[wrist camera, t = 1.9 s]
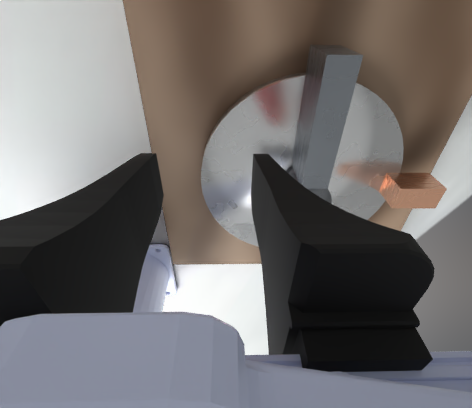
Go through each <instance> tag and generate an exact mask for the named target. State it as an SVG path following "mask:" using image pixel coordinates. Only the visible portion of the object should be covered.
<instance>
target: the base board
mask: <svg viewBox="0 0 472 408" xmlns="http://www.w3.org/2000/svg"><path fill="white" fill-rule="evenodd" d="M123 4H124V9H125V15H126V20H127V25H128V30H129V36H130V41H131V46H132V51H133V56H134V62H135V67H136V72H137V77H138V83H139V88H140V93H141V98H142V104H143V109H144V114H145V119H146V125H147V130H148V135H149V140H150V146H151V151H152V153H156V155H157V160H158V166H159V171H160V177H161V182H162V188H163V193H164V197H163V203H162V208H163V214H164V219H165V224H166V229H167V235H168V240H169V245H170V250H171V256H172V261H173V264H262V262H261V256H260V251H259V247H258V246H255V245H252V244H249V243H246V242H244V241H242V240H240V239H238V238H236V237H235V236H233V235H232V234H230V233H229V232H228V231H226V230H225V229H224V228H223V227H222V226H221V225H220V224H219V223H218V222H217V221H216V220H215V218H214V217H213V215H212V214H211V212H210V210H209V208H208V206H207V204H206V202H205V199H204V196H203V192H202V186H201V168H202V162H203V155H204V151H205V148H206V144H207V141H208V139H209V137H210V135H211V133H212V131H213V129H214V127H215V126H216V124H217V123H218V121H219V120H220V118H221V117H222V116H223V115H224V113H225V112H226V111H227V110H228V109H229V108H230V107H231V106H232V105H233V104H234V103H235V102H236V101H238V100H239V99H240V98H241V97H242V96H244V95H245V94H247V93H248V92H250V91H251V90H253V89H254V88H256V87H258V86H260V85H262V84H264V83H266V82H268V81H271V80H274V79H277V78H280V77H283V76H287V75H292V74H297V73H306V68H307V62H308V56H309V49H310V45H341V46H344V47H346V48H348V49H351V50H353V51H355V52H357V53H360V54H362V55H363V59H362V62H361V66H360V70H359V74H358V77H357V81H356V82H358V83H359V84H361V85H363V86H364V87H366V88H367V89H369V90H370V91H372V92H373V93H375V94H376V95H378V96H379V97H380V98H381V99H382V100H383V101H384V102H385V103H386V104H387V105H388V107H389V108H390V109H391V111H392V112H393V113H394V115H395V117H396V119H397V121H398V123H399V126H400V130H401V133H402V137H403V147H404V149H403V161H402V166H401V171H400V173H429V174H431V172H432V170H433V168H434V166H435V164H436V162H437V160H438V158H439V156H440V154H441V153H442V151H443V149H444V147H445V145H446V143H447V141H448V139H449V137H450V135H451V133H452V131H453V130H454V128H455V126H456V124H457V122H458V120H459V118H460V116H461V114H462V112H463V110H464V109H465V107H466V105H467V103H468V101H469V99H470V97H471V95H472V0H123ZM411 210H412V208H391V206H390V205H389V204H388V203H387V201H385V202H384V203H383V205H382V206H381V207H380V208H379V209H378V210H377V212H375V213H374V214H373V215H372V216H371V217H370V218H369V219H368V221H371V222H374V223H376V224H379V225H382V226H386V227H389V228H392V229H395V230H398V231H401V229H402V227H403V225H404V223H405V221H406V219H407V218H408V216H409V214H410V212H411Z"/></svg>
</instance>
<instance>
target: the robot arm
mask: <svg viewBox="0 0 472 408" xmlns="http://www.w3.org/2000/svg"><path fill="white" fill-rule="evenodd" d="M163 197H164V193H163V188H162V182H161V177H160V171H159V166H158V160H157V155H156V153H141V154H139V155H137V156H135V157H133V158H132V159H130V160H129V161H127V162H126V163H124V164H123V165H121V166H120V167H118V168H116V169H115V170H113V171H112V172H110V173H109V174H107V175H105V176H104V177H102V178H100V179H99V180H97V181H95V182H93V183H92V184H90V185H88V186H86V187H85V188H83V189H81V190H79V191H77V192H75V193H73V194H70V195H68V196H66V197H64V198H62V199H59V200H57V201H55V202H52V203H49V204H47V205H44V206H42V207H39V208H36V209H34V210H31V211H28V212H25V213H22V214H19V215H16V216H13V217H10V218H7V219H3V220H0V408H472V351H445V352H429V351H428V349H427V348H426V346H425V344H424V342H423V340H422V339H421V337H420V335H419V333H418V332H417V330H416V328H415V327H418V326H419V325H420V323H419V319H418V318H417V316H416V314H415V313H414V311H413V308H414V307H415V305H416V304H417V303H418V301H419V300H420V298H421V297H422V296H423V294H424V293H425V292H426V290H427V289H428V287H429V285H430V283H431V281H432V279H433V277H434V267H433V264H432V263H431V260H430V259H429V258H428V256H427V255H426V254H425V252H424V251H423V250H422V248H421V247H420V246H419V245H418V243H417V242H416V241H415V239H414V238H413V237H412V236H411V235H410V234H408V233H405V232H402V231H398V230H395V229H392V228H389V227H386V226H382V225H379V224H376V223H374V222H371V221H368V220H366V219H363V218H361V217H358V216H356V215H354V214H351V213H349V212H347V211H345V210H343V209H341V208H339V207H337V206H335V205H333V204H331V203H329V202H327V201H326V200H324V199H322V198H321V197H319V196H317V195H316V194H314V193H313V192H311V191H310V190H308V189H307V188H305V187H304V186H303V185H302V184H300V183H299V182H298V181H296V180H295V179H294V178H293V177H292V176H291V175H289V174H288V173H287V172H286V171H285V170H284V169H283V168H282V167H281V166H280V165H279V164H278V163H277V162H276V161H275V160H274V159H273V158H272V157H271V156H270V155H269V154H253V166H252V182H251V206H252V216H253V221H254V226H255V231H256V236H257V241H258V246H259V251H260V256H261V262H262V271H263V281H264V293H265V305H266V318H267V332H268V347H269V355H245V351H244V343H243V341H242V339H241V337H240V335H239V333H238V331H237V330H236V329H235V328H234V327H232V326H231V325H229V324H227V323H225V322H223V321H221V320H219V319H217V318H215V317H213V316H211V315H203V314H195V313H187V312H162V310H163V305H164V300H165V295H176V294H177V287H176V282H175V277H174V272H173V267H172V262H171V256H170V251H169V247H168V246H167V245H164V244H155V245H150V243H151V240H152V237H153V234H154V231H155V228H156V225H157V223H158V220H159V217H160V213H161V208H162V203H163Z"/></svg>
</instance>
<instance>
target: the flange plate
mask: <svg viewBox="0 0 472 408" xmlns="http://www.w3.org/2000/svg"><path fill="white" fill-rule="evenodd" d="M362 59H363V55H362V54H360V53H357V52H355V51H353V50H351V49H348V48H346V47H344V46H341V45H310V49H309V56H308V62H307V68H306V73H297V74H292V75H287V76H283V77H280V78H277V79H274V80H271V81H268V82H266V83H264V84H262V85H260V86H258V87H256V88H254V89H253V90H251V91H250V92H248V93H247V94H245V95H244V96H242V97H241V98H240V99H239V100H238V101H236V102H235V103H234V104H233V105H232V106H231V107H230V108H229V109H228V110H227V111H226V112H225V113H224V115H223V116H222V117H221V118H220V120H219V121H218V123H217V124H216V126H215V127H214V129H213V131H212V133H211V135H210V137H209V139H208V141H207V144H206V148H205V151H204V155H203V162H202V168H201V186H202V192H203V196H204V199H205V202H206V204H207V206H208V208H209V210H210V212H211V214H212V215H213V217H214V218H215V220H216V221H217V222H218V223H219V224H220V225H221V226H222V227H223V228H224V229H225V230H226V231H228V232H229V233H230V234H232V235H233V236H235V237H236V238H238V239H240V240H242V241H244V242H246V243H249V244H252V245H255V246H258V241H257V236H256V231H255V226H254V221H253V216H252V206H251V182H252V166H253V154H269V155H270V156H271V157H272V158H273V159H274V160H275V161H276V162H277V163H278V164H279V165H280V166H281V167H282V168H283V169H284V170H285V171H286V172H287V173H288V174H289V175H291V176H292V177H293V178H294V179H295V180H296V181H298V182H299V183H300V184H302V185H303V186H304V187H305V188H307V189H308V190H310V191H311V192H313V193H314V194H316V195H317V196H319V197H321V198H322V199H324V200H326V201H327V202H329V203H331V204H333V205H335V206H337V207H339V208H341V209H343V210H345V211H347V212H349V213H351V214H354V215H356V216H358V217H361V218H363V219H366V220H368V219H369V218H370V217H371V216H372V215H373V214H374V213H375V212H377V210H378V209H379V208H380V207H381V206H382V205H383V203H384V202H385V201H387V203H388V204H389V205H390V206H391V208H436V206H437V204H438V203H439V201H440V199H441V198H442V196H443V194H444V193H445V191H446V188H445V187H444V186H443V185H442V184H441V183H440V182H438V181H437V180H436V179H435V178H434V177H433V176H432V175H431V174H429V173H400V171H401V166H402V161H403V149H404V147H403V137H402V133H401V130H400V126H399V123H398V121H397V119H396V117H395V115H394V113H393V112H392V111H391V109H390V108H389V107H388V105H387V104H386V103H385V102H384V101H383V100H382V99H381V98H380V97H379V96H378V95H376V94H375V93H373V92H372V91H370V90H369V89H367V88H366V87H364V86H363V85H361V84H359V83H358V82H356V81H357V77H358V74H359V70H360V66H361V62H362ZM258 247H259V246H258Z"/></svg>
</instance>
